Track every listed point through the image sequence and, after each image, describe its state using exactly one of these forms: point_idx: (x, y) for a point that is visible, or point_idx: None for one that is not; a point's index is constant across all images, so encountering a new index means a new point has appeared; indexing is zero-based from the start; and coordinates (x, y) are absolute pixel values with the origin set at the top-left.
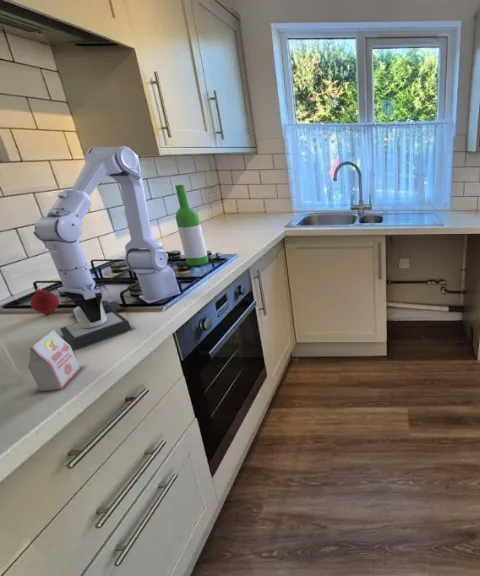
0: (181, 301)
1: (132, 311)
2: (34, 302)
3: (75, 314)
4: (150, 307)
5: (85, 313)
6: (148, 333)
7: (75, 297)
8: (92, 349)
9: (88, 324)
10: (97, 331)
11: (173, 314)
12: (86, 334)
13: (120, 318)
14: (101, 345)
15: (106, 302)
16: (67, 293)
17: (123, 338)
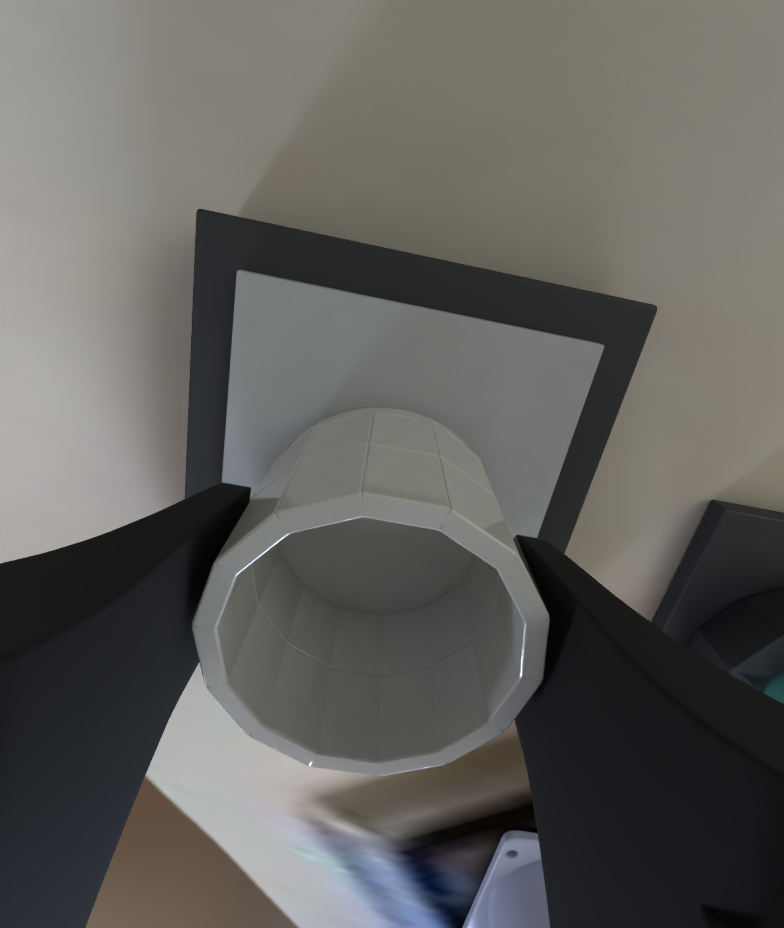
0: (344, 899)
1: (512, 739)
2: None
3: (374, 469)
4: (450, 805)
5: (115, 532)
6: None
7: (640, 754)
8: (107, 302)
9: (277, 459)
10: (191, 448)
11: (196, 804)
12: (217, 367)
13: None
14: (122, 374)
15: None
16: (781, 829)
17: (104, 510)
